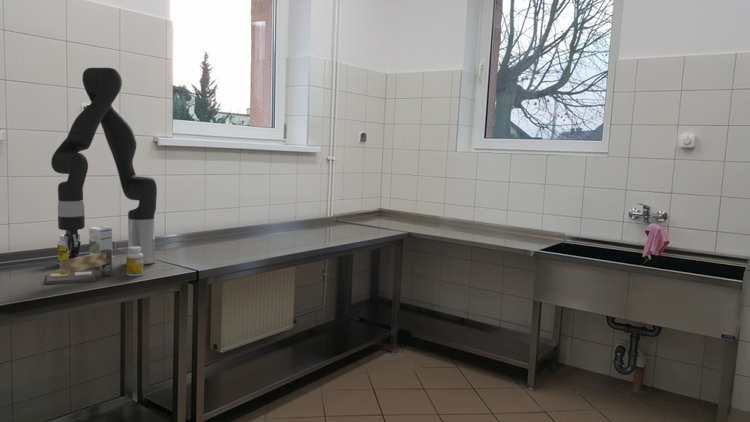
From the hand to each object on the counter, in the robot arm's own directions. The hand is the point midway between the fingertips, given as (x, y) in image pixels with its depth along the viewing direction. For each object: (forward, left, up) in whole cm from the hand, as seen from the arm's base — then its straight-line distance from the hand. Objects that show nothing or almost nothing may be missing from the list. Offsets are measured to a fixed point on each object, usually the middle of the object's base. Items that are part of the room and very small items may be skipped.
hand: (72, 266), depth 178 cm
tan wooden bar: (-4, +1, -1) cm, 4 cm away
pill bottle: (+2, -28, -5) cm, 29 cm away
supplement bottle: (-19, -4, -5) cm, 20 cm away
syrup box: (-9, -22, -5) cm, 25 cm away
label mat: (+1, -5, -5) cm, 7 cm away
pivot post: (-10, -5, -5) cm, 12 cm away
